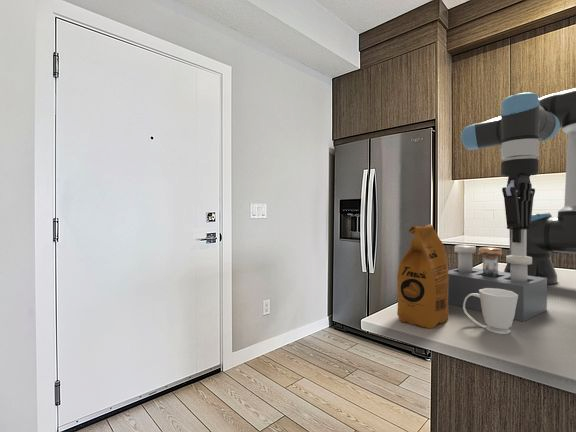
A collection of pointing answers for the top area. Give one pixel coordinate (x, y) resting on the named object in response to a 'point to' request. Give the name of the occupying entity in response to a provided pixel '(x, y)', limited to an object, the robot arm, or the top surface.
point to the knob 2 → (518, 267)
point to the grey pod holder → (529, 293)
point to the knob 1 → (465, 258)
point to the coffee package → (423, 280)
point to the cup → (496, 309)
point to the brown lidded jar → (490, 261)
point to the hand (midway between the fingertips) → (518, 255)
